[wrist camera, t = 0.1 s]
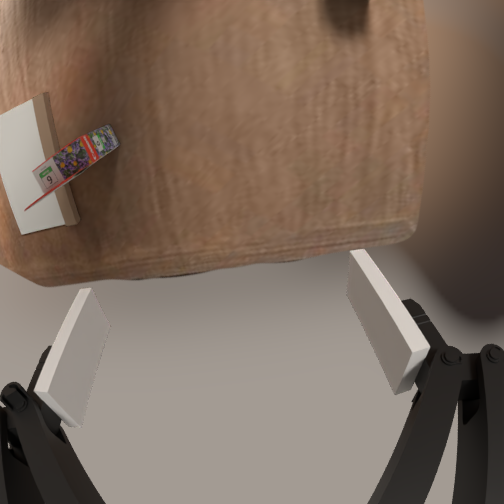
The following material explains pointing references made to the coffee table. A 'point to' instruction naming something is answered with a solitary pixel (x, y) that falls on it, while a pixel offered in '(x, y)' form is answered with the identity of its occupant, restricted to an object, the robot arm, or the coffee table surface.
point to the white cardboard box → (74, 160)
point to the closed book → (32, 166)
